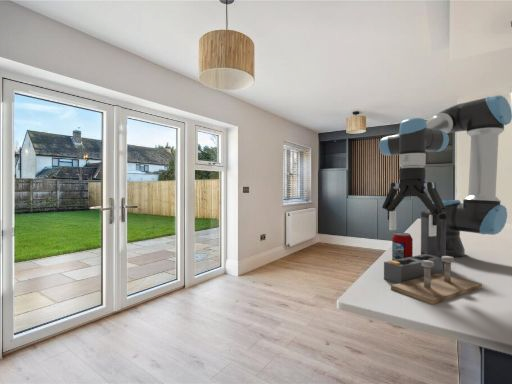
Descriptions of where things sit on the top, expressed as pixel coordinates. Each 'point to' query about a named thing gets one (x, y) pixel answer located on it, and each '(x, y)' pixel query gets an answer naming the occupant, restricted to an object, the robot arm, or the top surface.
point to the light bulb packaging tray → (410, 268)
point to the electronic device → (433, 243)
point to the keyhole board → (436, 284)
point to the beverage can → (402, 246)
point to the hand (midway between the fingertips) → (411, 232)
